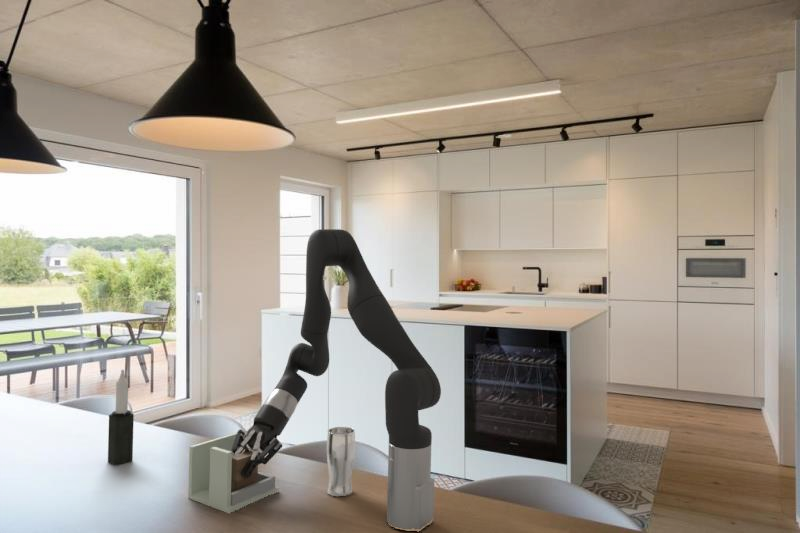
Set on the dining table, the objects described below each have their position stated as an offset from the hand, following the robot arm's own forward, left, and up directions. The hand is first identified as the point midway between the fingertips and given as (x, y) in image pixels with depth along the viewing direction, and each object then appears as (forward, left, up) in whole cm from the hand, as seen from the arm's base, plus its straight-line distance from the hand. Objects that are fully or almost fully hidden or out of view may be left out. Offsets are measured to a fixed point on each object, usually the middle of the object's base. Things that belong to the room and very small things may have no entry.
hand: (237, 474), depth 131 cm
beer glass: (-16, -18, -6) cm, 25 cm away
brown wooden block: (0, -2, -5) cm, 5 cm away
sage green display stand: (+3, -2, -6) cm, 7 cm away
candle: (+45, +1, -6) cm, 45 cm away
